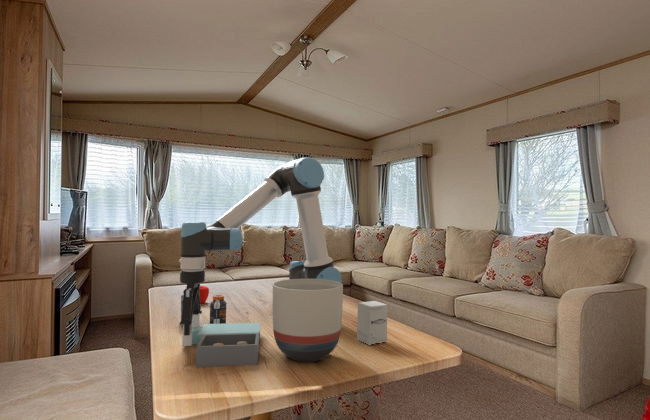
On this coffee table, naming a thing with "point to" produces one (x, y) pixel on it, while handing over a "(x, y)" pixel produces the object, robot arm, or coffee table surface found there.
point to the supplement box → (372, 322)
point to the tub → (227, 350)
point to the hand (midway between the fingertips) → (191, 339)
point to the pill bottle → (218, 310)
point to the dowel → (241, 342)
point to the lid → (224, 330)
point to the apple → (203, 294)
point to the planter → (307, 317)
